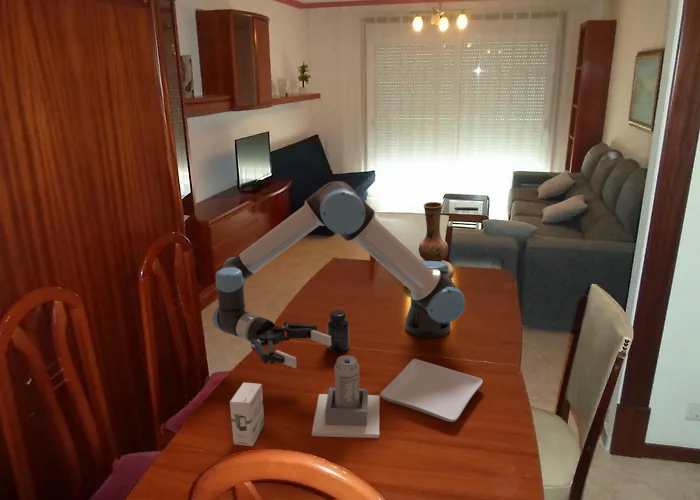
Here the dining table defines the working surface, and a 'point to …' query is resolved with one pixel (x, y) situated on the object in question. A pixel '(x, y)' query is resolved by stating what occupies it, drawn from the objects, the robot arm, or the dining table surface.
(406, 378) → the salad plate
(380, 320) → the dining table surface
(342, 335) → the supplement bottle
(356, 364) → the energy drink can
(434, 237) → the vase
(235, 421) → the ink box
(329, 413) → the socket board
